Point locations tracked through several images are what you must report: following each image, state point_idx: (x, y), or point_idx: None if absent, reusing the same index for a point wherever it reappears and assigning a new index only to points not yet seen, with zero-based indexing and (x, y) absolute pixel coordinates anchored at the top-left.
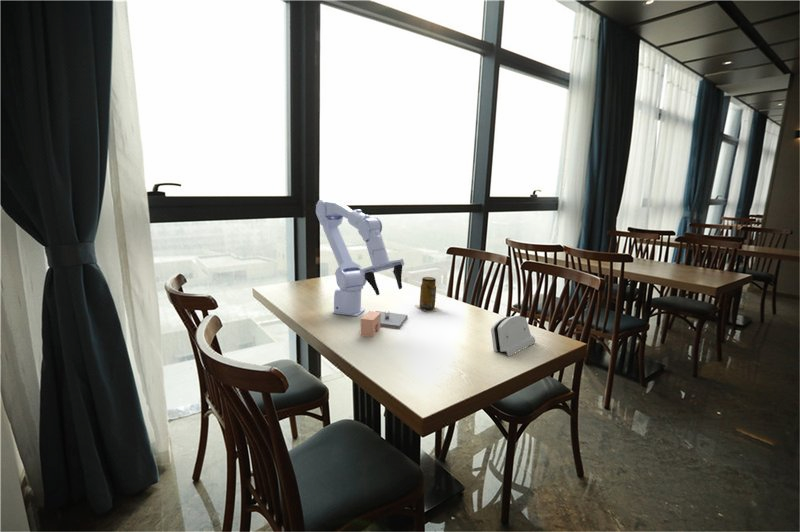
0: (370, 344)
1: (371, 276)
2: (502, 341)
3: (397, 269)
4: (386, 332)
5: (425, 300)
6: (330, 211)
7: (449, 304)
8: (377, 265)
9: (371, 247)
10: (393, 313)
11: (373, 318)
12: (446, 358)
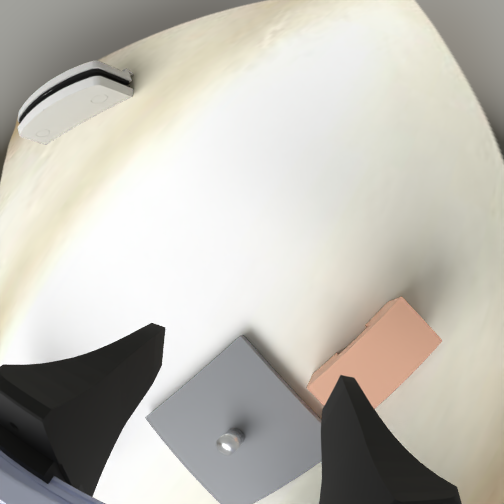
0: (422, 240)
1: (416, 479)
2: (116, 69)
3: (60, 392)
4: (313, 323)
5: None
6: None
7: None
8: None
9: None
10: (184, 460)
11: (389, 319)
12: (254, 83)
